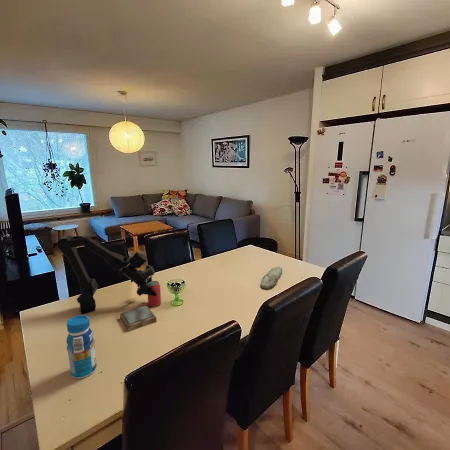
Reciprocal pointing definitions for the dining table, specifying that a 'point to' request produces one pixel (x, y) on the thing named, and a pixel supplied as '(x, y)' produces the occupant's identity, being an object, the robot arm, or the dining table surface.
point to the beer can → (156, 300)
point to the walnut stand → (137, 318)
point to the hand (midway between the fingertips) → (156, 292)
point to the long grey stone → (271, 278)
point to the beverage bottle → (80, 347)
